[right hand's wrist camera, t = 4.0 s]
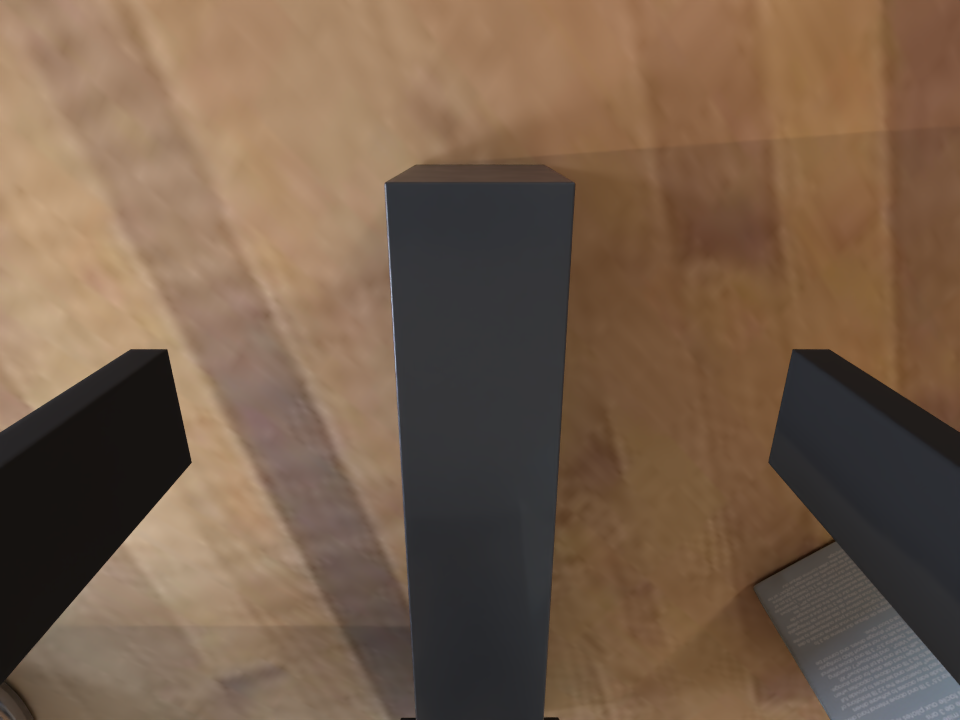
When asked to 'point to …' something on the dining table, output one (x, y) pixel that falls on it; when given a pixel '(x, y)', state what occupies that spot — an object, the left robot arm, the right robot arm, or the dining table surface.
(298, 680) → the dining table surface
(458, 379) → the slate beam
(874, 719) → the hard drive box
